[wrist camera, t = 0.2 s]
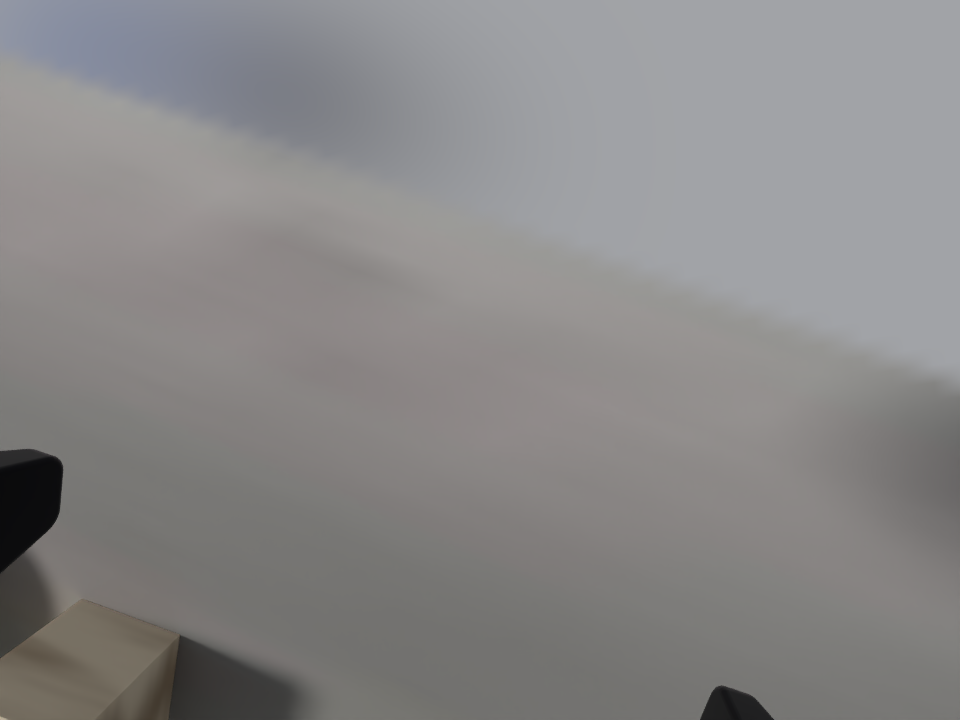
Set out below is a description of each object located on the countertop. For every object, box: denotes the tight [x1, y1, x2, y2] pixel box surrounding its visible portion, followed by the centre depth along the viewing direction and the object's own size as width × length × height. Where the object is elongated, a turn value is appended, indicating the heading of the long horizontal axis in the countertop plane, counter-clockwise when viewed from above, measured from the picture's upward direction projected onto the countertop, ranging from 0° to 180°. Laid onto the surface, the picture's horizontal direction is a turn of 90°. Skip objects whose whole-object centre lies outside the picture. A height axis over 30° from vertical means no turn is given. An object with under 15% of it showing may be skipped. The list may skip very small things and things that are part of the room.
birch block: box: [0, 599, 180, 720], centre depth 25 cm, size 5×5×6 cm
